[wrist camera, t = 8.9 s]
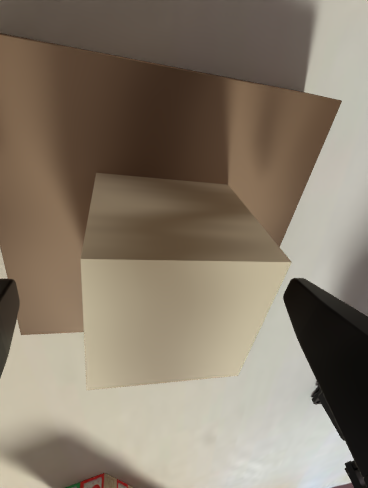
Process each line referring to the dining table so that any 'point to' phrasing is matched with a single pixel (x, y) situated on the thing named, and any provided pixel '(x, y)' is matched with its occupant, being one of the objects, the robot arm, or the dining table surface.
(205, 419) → the dining table surface
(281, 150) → the walnut base slab
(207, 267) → the maple cube
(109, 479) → the stack of blocks
